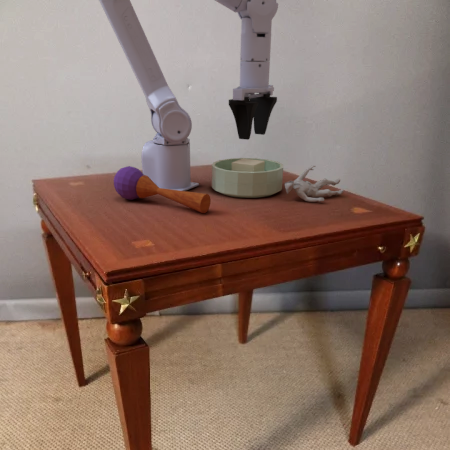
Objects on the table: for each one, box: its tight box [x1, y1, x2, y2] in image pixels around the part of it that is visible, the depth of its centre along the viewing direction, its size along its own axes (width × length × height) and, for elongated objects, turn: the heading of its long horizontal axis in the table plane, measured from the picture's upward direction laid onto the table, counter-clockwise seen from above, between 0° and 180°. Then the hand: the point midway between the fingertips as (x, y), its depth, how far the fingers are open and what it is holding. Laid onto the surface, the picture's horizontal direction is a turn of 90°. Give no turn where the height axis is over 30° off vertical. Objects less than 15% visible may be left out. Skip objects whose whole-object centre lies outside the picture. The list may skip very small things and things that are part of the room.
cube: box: [232, 159, 265, 172], centre depth 100 cm, size 5×5×5 cm
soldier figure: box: [284, 165, 344, 203], centre depth 96 cm, size 8×5×12 cm
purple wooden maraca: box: [113, 165, 212, 214], centre depth 90 cm, size 6×6×20 cm
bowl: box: [211, 157, 284, 199], centre depth 100 cm, size 14×14×5 cm
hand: (252, 136), depth 102 cm, fingers open, 7 cm apart
